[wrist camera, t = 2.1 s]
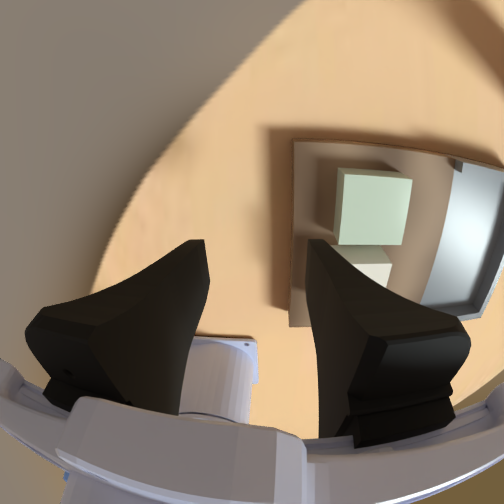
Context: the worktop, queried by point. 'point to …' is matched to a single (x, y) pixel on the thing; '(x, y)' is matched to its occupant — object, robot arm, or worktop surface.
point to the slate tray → (469, 242)
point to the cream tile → (367, 260)
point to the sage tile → (371, 206)
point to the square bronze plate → (324, 200)
